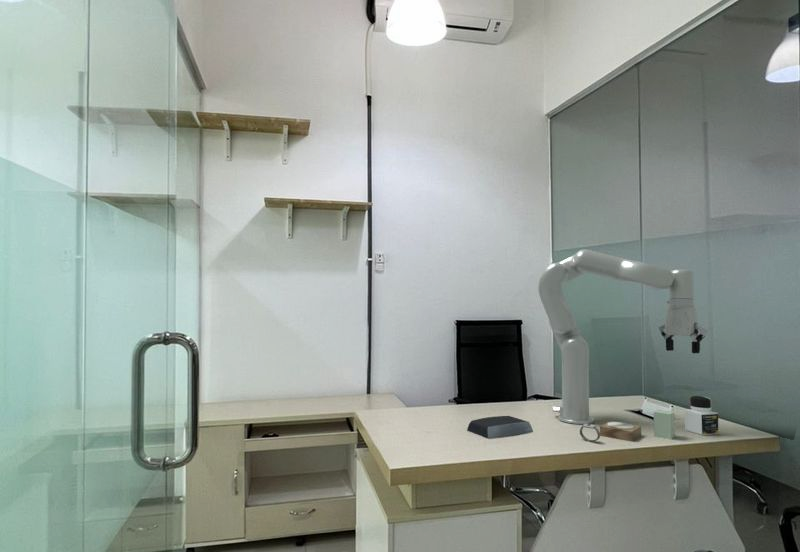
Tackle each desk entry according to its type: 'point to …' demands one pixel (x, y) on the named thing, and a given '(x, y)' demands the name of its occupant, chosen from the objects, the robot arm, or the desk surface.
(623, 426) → the pedestal
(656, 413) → the sage block
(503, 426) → the external hard drive
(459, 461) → the desk surface
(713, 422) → the medicine bottle
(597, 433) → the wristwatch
